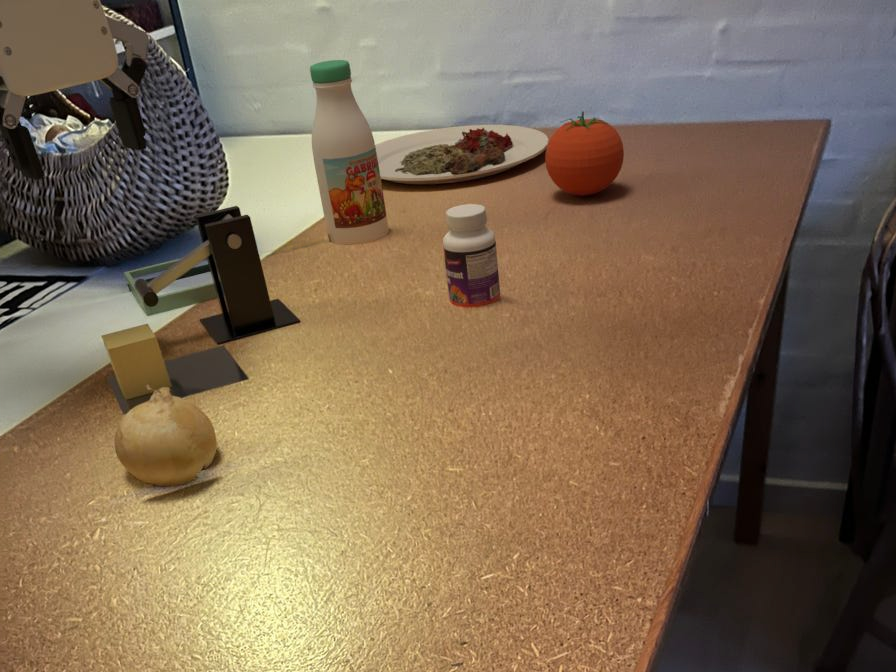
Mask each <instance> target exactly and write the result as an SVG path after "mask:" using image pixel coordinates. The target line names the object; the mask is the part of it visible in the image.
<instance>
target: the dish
mask: <svg viewBox="0 0 896 672" xmlns="http://www.w3.org/2000/svg"><path fill="white" fill-rule="evenodd" d="M182 258H183V257H181V258H177V259H172V260H169V261H164V262H161V263H157V264H153V265H148V266H143V267H140V268H136V269H132V270H128V271H124V272H123V276H124V279H125V280H126V282H127V284H126V285H127V287H128V290H129V292H130V293H132V295H133V297H134V298H135V301H137V303H138V304H139V306H140V307H141V309H142V311H143V313H144V314H145V315H146V317H150V316H154V315H157V314H161V313H165V312H169V311H173V310H177V309H181V308H184V307H189V306H192V305H196V304H200V303H204V302H207V301H210V300H211V301H212V300H216V299H218V297H217V293H216V290H215V286H214V283H213V281H212V282H208V283H204V284H200V285H195V286H192V287H188V288H184V289H181V290H177V291H173V292H168V293H164V294H160V295H157V296H158V299H159V300H158V304H157V305H156V306H154V307H149V306H147V305H146V304H145V303H144V301H143V300H142V298H141V297H140V295H139V294H138V292H137V291H136V289H135V286H134V285H135V282H136V280H135V279H136V278H139V277H143V276H146V275H151V274H155V273H160V272H164V271H165V270H167V269H168V268H169V267H171V266H172V265H174V264H175V263H176V262H178V261H179V260H180V259H182ZM204 261H207V258H205V259H204V260H203V261H202V262H204ZM207 273H211V272H210V268H209V264H208V263H207V264H204V265H203V264H202V265H199V266H194V267H193V268H192V269H190V270H189V271H187V272H186V273H185V274H183V275H182V276H181V277H179V278H178V279H176V280H175V281H178V280H182V279H186V278H190V277H194V276H198V275H203V274H207ZM155 277H156V276H154V277H150V278H145V280H146V281H147V282H148V283H149V282H150V281H151V280H153V279H154V278H155ZM134 278H135V279H134Z"/></svg>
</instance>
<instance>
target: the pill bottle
mask: <svg viewBox="0 0 896 672" xmlns="http://www.w3.org/2000/svg"><path fill="white" fill-rule="evenodd" d="M445 217H446V218H445V219H446V226H447V228H448V229H449V231H448V232H447V233H446V234H445V235H444V236H443V239H442V249H443V257H444V258H443V259H444V264H445V265H444V266H445V273H446V274H445V275H446V281H447V289H448V291H447V292H448V299H449V303H451V305H453V306H456V307H461V308H476V307H482V306H483V307H484V306H487V305H490V304H492V303H495V302H496V301H498V300H499V299H501V286H500V275H499V264H498V252H497V242H496V235H495V233H494V231H493V230H492V229H491V228H489V227H487V226H486V225H487V223H488V222H487V220H488V218H487V212H486V207H485V206H484V205H483V204H479V203H478V204H477V203H466V204H459V205H456V206H452V207H451V208H449V209H447V210H446V212H445Z"/></svg>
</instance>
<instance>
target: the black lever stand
mask: <svg viewBox="0 0 896 672" xmlns="http://www.w3.org/2000/svg"><path fill="white" fill-rule="evenodd" d="M227 214H230V215H231V216H232V217H233V218H230V219H226V220H222V221H219V220H220V219H222V218H223V217H224V216H226V215H227ZM194 217H195V220H196V224H197V227H198V232H199V234H200V238H201V242H202V244H203V243H204V242H205V241H207V240H209V243H210V247H211V251H212V254H211V255H210V256H208V257H207V260H206V261H207V264H209V268H210V272H209V273H210V276H211V278H212V279H211V280H212V282H213V283H214V286H215V290H216V293H217V297H218V298H217V300H218V304H219V307H220V313H218V314H214V315H211V316H208V317H204V318H199V320H198V321H199V323H200V324H201V325H202V326H203V328H204V329H205V330H206V332H207V333H208V335H209V336H210V337H211V338H212V340H213V341H214V342H215V344H216V345H217V346H221V345H223V344H227V343H230V342H234V341H237V340H238V341H239V340H241V339H245V338H249V337H252V336H256V335H260V334H264V333H267V332H272V331H274V330H278V329H282V328H286V327H289V326H293V325H297V324H300V323H301V320H300V319H299V317H298V316H297V315H295V314H294V313H293V311H291V309H290V308H288V307H287V306H286V305H285V304H284V302H282V300H281V299H279V298H276V299H272V300H271V297H270V294H269V291H268V286H267V282H266V278H265V273H264V269H263V265H262V261H261V256H260V253H259V252H260V251H259V249H258V245H257V239H256V235H255V231H254V228H253V224H252V220H251V216H250V215H249V214H243V215H242V212H241V208H240V207H239V206H238V205H234V206H230V207H225V208H222V209H216V210H212V211H208V212H203V213H200V214H199V213H198V214H196V215H195V216H194Z"/></svg>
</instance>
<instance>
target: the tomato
mask: <svg viewBox="0 0 896 672" xmlns="http://www.w3.org/2000/svg"><path fill="white" fill-rule="evenodd" d="M584 116H585V111H581V115H578V116H577V117H576V119H577V120H574V119H572V118H571V117H569V118H568V119H565V120H562V121H560V123H564V122H565V123H564V124H562V125H561V126H560V127H558V128H557V129H556V130H555V131H554V133H553V134H552V135H551V136H550V138H549V139H548V141H549V142H548V145H547V148H546V149H545V158H544V159H545V162H544V163H545V167H546V168H545V169H546V171H547V173H548V176H549V178H550V179H551V180H552V182H553V183H554V185H555V186H557V188H559V189H560V190H562V191H564V192H565V193H567V194H570V195H574V196H578V197H579V196H581V197H582V196H592V195H595V194H598V193H600V192H602V191H604V190H605V189H607V188H608V187H609V186H610V185H612V184H613V182H614V181H615V180H616V179H617V178H618V176H619V173H620V172H621V170H622V168H623V165H624V156H625V152H624V150H625V149H624V144H623V141H622V138H621V137H622V136H621V135H620V134H619V132H618V130H617V129H616V128H615V127H613V126H612V125H611V124H609V122H606V121H605V120H603V119H601V118H600V117H592V118H585V117H584ZM568 120H570V121H568ZM566 121H568V122H566Z"/></svg>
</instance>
